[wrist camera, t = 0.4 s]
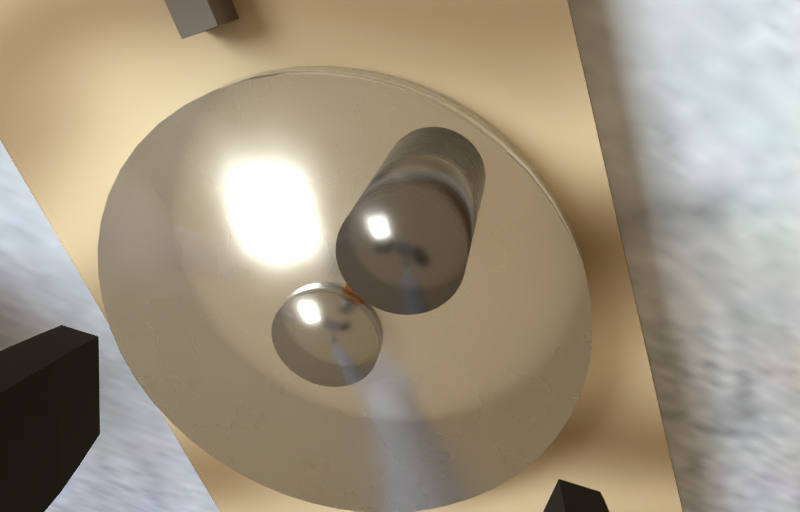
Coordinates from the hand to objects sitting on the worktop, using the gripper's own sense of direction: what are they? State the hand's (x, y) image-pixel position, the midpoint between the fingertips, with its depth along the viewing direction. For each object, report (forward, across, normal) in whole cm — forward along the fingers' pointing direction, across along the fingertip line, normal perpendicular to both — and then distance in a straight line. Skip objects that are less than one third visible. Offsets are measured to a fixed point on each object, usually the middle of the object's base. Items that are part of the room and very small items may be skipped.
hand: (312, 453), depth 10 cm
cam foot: (+8, +1, +3) cm, 9 cm away
